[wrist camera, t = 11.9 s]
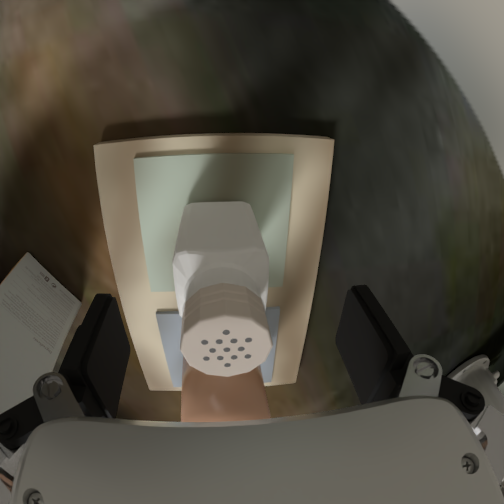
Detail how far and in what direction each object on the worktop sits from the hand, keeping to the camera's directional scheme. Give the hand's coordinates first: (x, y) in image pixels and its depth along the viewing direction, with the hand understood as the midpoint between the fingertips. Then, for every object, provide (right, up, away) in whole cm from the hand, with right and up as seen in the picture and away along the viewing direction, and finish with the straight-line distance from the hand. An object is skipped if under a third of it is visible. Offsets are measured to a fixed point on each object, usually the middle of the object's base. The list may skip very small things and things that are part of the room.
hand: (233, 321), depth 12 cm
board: (-2, 0, +10) cm, 11 cm away
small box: (-18, -1, +9) cm, 20 cm away
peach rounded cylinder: (-2, -6, +12) cm, 13 cm away
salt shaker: (-1, +4, +7) cm, 8 cm away
